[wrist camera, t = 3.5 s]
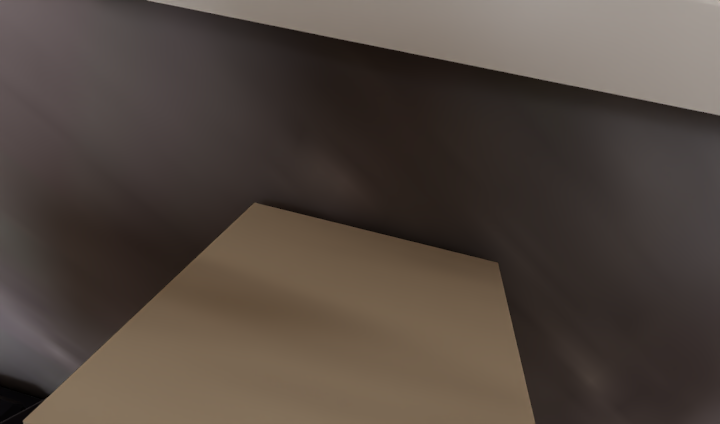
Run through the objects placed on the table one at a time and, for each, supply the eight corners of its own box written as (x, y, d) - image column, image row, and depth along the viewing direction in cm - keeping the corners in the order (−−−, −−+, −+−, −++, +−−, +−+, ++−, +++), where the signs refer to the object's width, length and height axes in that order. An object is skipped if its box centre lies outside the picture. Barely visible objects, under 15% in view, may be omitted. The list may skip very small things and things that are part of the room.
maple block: (432, 424, 10) (423, 752, 5) (245, 370, 10) (96, 631, 6) (497, 262, 8) (575, 598, 3) (254, 202, 8) (22, 420, 4)
